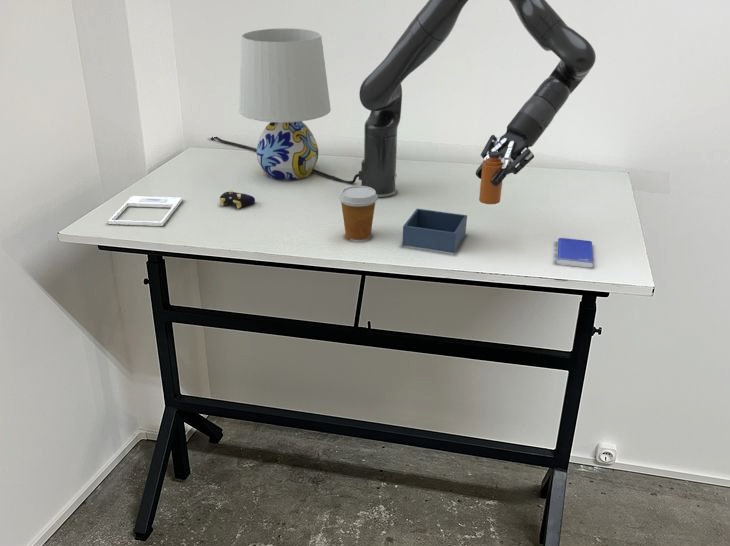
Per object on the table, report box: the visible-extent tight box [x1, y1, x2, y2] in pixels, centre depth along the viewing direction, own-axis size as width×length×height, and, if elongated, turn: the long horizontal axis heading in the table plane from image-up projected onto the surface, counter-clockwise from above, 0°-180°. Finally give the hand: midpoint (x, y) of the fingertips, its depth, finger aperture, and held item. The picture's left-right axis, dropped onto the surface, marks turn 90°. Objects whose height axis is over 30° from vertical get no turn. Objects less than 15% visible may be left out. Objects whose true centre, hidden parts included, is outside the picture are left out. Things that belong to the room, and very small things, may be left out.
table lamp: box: [238, 27, 332, 181], centre depth 212 cm, size 27×27×40 cm
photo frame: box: [107, 195, 183, 227], centre depth 195 cm, size 15×1×18 cm
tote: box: [401, 208, 468, 254], centre depth 178 cm, size 13×12×6 cm
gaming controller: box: [219, 190, 256, 209], centre depth 200 cm, size 10×5×6 cm
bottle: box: [478, 151, 504, 205], centre depth 167 cm, size 5×5×12 cm
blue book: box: [556, 237, 594, 269], centre depth 172 cm, size 2×8×12 cm
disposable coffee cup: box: [338, 185, 379, 241], centre depth 179 cm, size 10×10×12 cm
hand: (485, 180), depth 166 cm, fingers closed on bottle, 5 cm apart
